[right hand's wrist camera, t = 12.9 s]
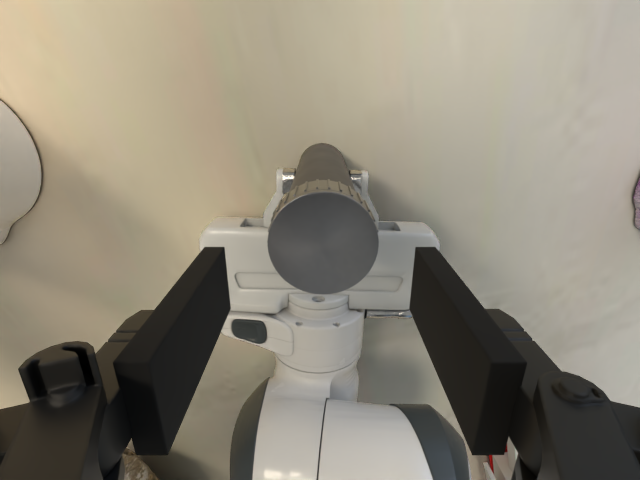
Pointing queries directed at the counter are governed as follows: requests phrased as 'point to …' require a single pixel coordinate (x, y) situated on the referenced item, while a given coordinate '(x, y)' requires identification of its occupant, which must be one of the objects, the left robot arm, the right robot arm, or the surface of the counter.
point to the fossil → (136, 467)
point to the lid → (323, 237)
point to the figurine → (637, 204)
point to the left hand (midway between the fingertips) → (321, 170)
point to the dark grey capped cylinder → (321, 166)
